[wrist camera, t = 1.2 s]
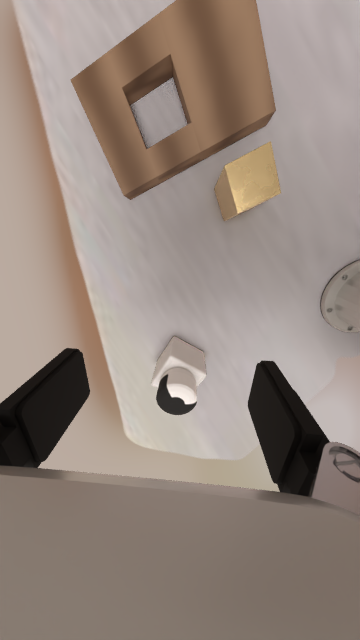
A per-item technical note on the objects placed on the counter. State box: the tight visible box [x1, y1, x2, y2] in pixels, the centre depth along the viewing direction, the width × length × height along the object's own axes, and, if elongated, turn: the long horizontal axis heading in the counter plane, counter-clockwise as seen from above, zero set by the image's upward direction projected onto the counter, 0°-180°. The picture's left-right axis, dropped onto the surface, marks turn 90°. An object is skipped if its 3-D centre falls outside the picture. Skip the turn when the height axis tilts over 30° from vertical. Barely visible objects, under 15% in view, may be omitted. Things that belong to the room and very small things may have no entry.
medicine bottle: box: [151, 336, 207, 415], centre depth 33 cm, size 7×7×12 cm
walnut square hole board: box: [71, 0, 276, 200], centre depth 22 cm, size 20×12×3 cm, turn 113°
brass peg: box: [214, 141, 281, 221], centre depth 23 cm, size 4×4×9 cm
